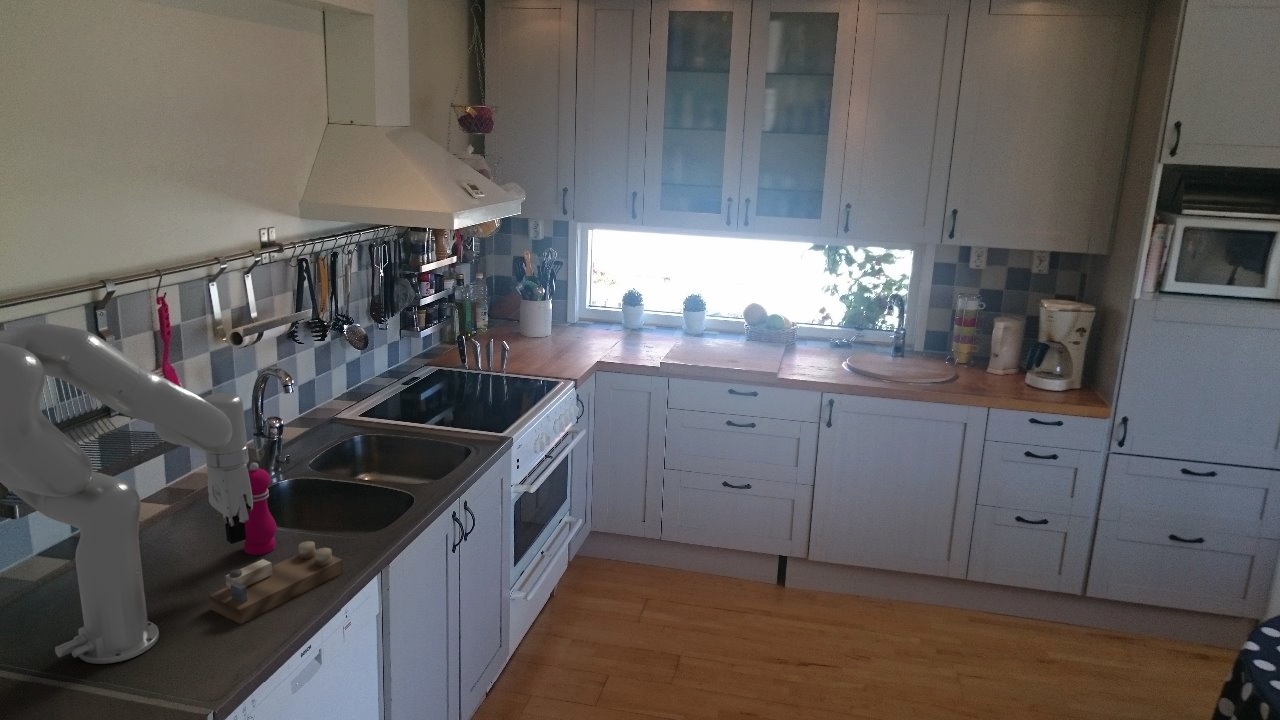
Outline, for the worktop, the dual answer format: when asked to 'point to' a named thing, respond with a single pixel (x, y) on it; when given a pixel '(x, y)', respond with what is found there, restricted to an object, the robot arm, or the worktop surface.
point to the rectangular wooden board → (278, 584)
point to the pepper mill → (259, 515)
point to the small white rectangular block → (249, 573)
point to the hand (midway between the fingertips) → (236, 540)
